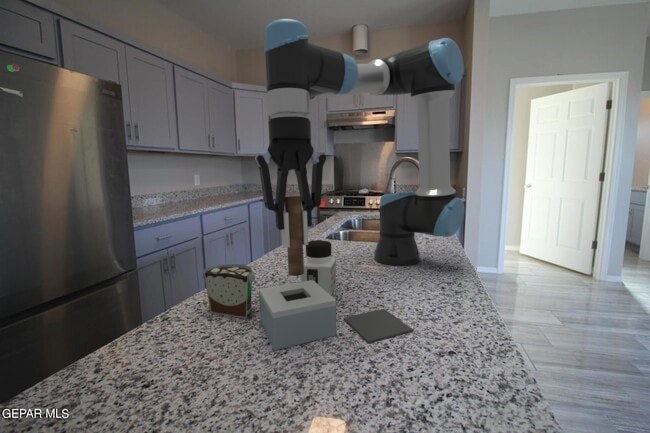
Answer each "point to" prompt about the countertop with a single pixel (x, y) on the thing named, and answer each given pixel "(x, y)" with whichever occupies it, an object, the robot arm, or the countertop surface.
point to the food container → (229, 289)
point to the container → (320, 265)
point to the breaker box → (297, 313)
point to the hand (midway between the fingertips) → (295, 244)
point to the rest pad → (377, 325)
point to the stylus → (295, 235)
